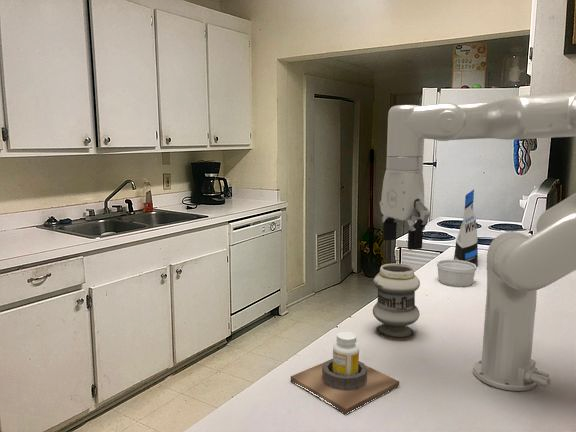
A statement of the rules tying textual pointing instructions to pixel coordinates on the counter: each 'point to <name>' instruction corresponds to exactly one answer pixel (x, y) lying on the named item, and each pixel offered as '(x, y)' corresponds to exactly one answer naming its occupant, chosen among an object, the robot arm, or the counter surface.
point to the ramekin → (456, 272)
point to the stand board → (349, 395)
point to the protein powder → (467, 234)
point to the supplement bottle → (345, 355)
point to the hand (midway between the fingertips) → (401, 244)
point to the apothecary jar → (396, 301)
